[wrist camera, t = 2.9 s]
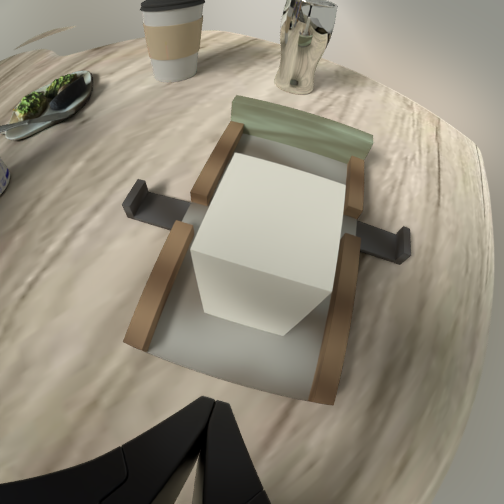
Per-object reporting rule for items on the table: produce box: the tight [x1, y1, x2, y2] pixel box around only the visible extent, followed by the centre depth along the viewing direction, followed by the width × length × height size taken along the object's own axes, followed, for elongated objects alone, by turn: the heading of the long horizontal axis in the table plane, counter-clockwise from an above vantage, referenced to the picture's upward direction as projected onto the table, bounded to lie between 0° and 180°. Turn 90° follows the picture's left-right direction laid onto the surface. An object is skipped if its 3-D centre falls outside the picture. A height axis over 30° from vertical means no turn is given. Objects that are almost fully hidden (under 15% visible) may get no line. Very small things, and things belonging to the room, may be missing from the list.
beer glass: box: [274, 0, 338, 94], centre depth 30 cm, size 7×7×15 cm
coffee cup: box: [140, 0, 205, 82], centre depth 30 cm, size 9×9×15 cm
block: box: [190, 153, 346, 336], centre depth 17 cm, size 6×6×10 cm
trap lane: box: [122, 95, 411, 405], centre depth 22 cm, size 26×26×5 cm
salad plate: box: [0, 71, 93, 141], centre depth 30 cm, size 19×18×5 cm
